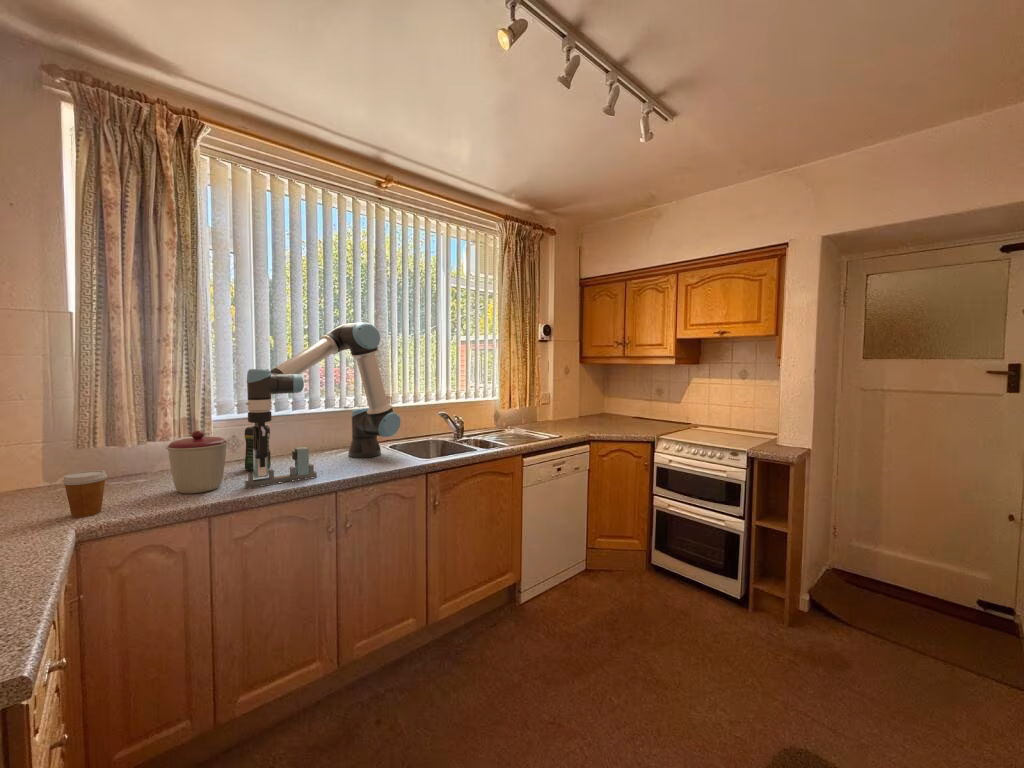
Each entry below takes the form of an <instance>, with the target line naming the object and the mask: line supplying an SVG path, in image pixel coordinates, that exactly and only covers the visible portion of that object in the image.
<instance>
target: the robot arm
mask: <svg viewBox="0 0 1024 768" xmlns="http://www.w3.org/2000/svg"><path fill="white" fill-rule="evenodd" d="M380 342H381V335H380V332H379V329H378V328H377V327H376V326H375V325H373V324H372V323H369V322H363V321H361V322H352V323H344V324H340V325H338V326H337V327H335V328H333V329H332V330H330V331H328V332H327V333H325V334H324V335H322V336H321V338H320V339H319V340H318V341H317V342H315V343H314V344H312V345H310V346H308V347H307V348H305V349H303V350H302V351H301V352H299V353H297V354H295V355H294V356H292V357H290V358H289V359H287V360H285V361H284V362H282V363H281V364H279V365H277V366H276V367H274V368H272V369H269V368H250V369H248V370H247V372H246V373H247V375H246V385H247V386H246V390H247V391H246V392H247V401H246V403H245V405H246V406H247V411H248V412H247V421H248V423H250V424H254V426H255V427H253V428H252V429H253V445H254V449H257V448H258V457H256V459H257V463H258V476H265V475H267V471H266V457H267V456H268V449H267V435H268V430H267V427H265V425H266V423H269V422H271V421H272V420H273V419H272V411H271V410H272V395H276V394H277V395H282V394H285V395H286V394H297V393H301V392H302V391H303V390H304V387H305V385H304V384H305V382H304V381H305V380H304V378H303V376H302V375H301V374H303V373H304V372H307V370H309V369H311V368H312V367H314V366H315V365H317V364H318V363H320V362H321V361H324V360H325V359H326V358H327V357H329V356H331V355H336V354H338V353H340V352H342V351H346V350H347V351H348V350H349V351H350V355H351V356H352V357H353V358H355V360H356V363H357V367H358V371H359V374H360V378H361V382H362V387H363V390H364V393H365V397H366V402H367V405H368V407H367V408H366V407H364V408H355V409H353V410H352V412H351V442H350V444H349V445H350V446H349V448H348V455H347V456H348V457H350V458H358V459H364V458H365V459H366V458H372V457H373V458H374V457H378V456H380V455H381V454H382V449H381V446H380V444H379V440H378V437H382V438H390V437H393V436H394V435H396V434H397V433H398V431H399V429H400V427H401V421H402V420H401V417H400V415H399V414H398V413H397V412H394V409H393V406H392V405H391V404H390V403H389V402H388V398H387V395H386V390H385V388H384V382H383V378H382V374H381V371H380V370H381V369H380V367H379V363H378V359H377V352H378V351H379V348H378V346H379V344H380Z"/></svg>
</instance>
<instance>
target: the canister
mask: <svg viewBox="0 0 1024 768" xmlns="http://www.w3.org/2000/svg"><path fill="white" fill-rule="evenodd" d="M229 443H230V441H229V440H227V439H225V438H223V437H220V436H219V437H218V436H205V432H204V431H203V430H195V431H193V432H192V433H191V437H188V438H182V439H176V440H174V441H172V442H170V443H169V444H168V445H165V449H166V450H167V452H168V458H169V464H170V470H171V476H172V481H173V485H174V488H175V490H176V491H177V492H178V493H181V494H201V493H206V492H211V491H214V490H216V489H218V488H219V487H220V486H221V485H222V483H223V479H224V473H225V465H226V454H227V445H228V444H229Z"/></svg>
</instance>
